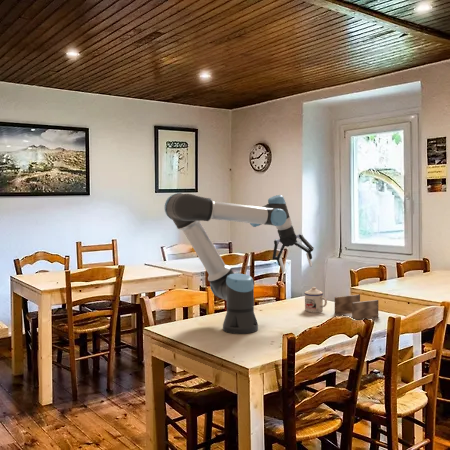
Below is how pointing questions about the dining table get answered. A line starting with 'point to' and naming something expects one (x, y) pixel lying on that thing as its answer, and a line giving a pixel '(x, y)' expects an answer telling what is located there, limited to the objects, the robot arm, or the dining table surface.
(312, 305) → the teacup with lid
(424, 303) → the dining table surface
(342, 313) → the caddy
